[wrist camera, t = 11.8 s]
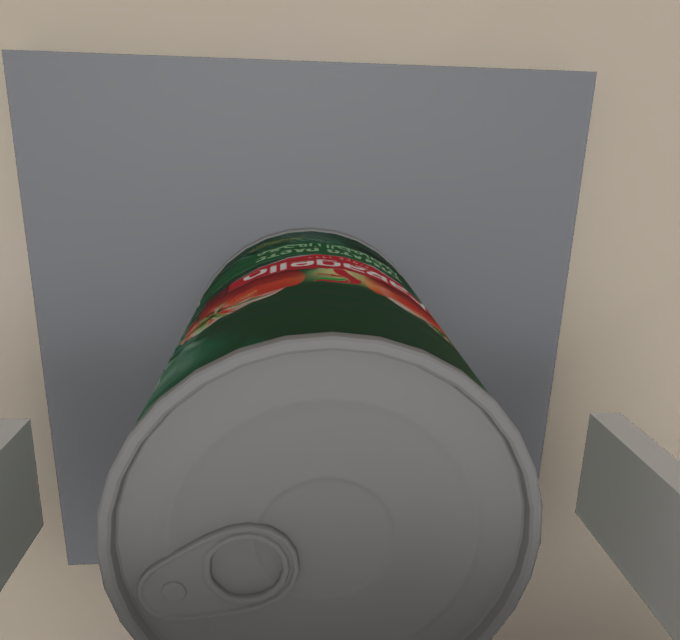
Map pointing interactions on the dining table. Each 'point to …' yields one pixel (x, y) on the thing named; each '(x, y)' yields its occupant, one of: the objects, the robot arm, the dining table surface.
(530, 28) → the dining table surface
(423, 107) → the slate grey board
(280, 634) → the canned tomato
